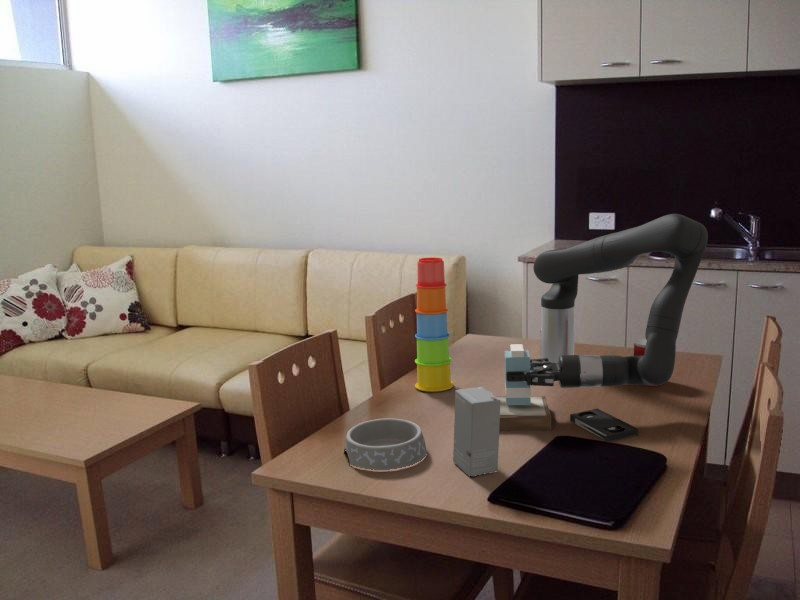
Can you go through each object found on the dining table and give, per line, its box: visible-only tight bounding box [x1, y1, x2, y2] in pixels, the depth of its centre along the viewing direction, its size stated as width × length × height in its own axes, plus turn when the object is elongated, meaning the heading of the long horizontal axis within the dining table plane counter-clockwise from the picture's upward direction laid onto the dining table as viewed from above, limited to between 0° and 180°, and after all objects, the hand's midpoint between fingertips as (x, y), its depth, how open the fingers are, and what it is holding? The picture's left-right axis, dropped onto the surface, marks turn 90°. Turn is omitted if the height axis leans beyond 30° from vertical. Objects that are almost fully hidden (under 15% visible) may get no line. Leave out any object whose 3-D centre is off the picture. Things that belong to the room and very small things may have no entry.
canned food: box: [633, 337, 658, 387], centre depth 200 cm, size 8×8×11 cm
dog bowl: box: [343, 417, 428, 470], centre depth 163 cm, size 17×18×5 cm
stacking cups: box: [414, 257, 454, 393], centre depth 201 cm, size 10×10×35 cm
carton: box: [504, 343, 532, 405], centre depth 177 cm, size 6×6×13 cm
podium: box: [494, 395, 552, 431], centre depth 179 cm, size 14×14×3 cm
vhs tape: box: [569, 408, 639, 442], centre depth 172 cm, size 14×8×2 cm, turn 23°
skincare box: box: [452, 386, 500, 477], centre depth 153 cm, size 8×7×16 cm
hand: (506, 372), depth 177 cm, fingers closed on carton, 5 cm apart
